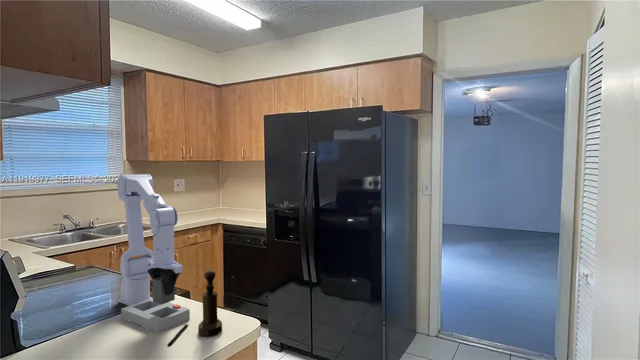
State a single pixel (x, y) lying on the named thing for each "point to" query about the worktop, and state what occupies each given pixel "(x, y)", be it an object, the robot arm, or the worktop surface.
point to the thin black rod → (177, 335)
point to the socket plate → (155, 314)
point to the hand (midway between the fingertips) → (164, 292)
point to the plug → (161, 292)
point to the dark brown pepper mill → (210, 309)
